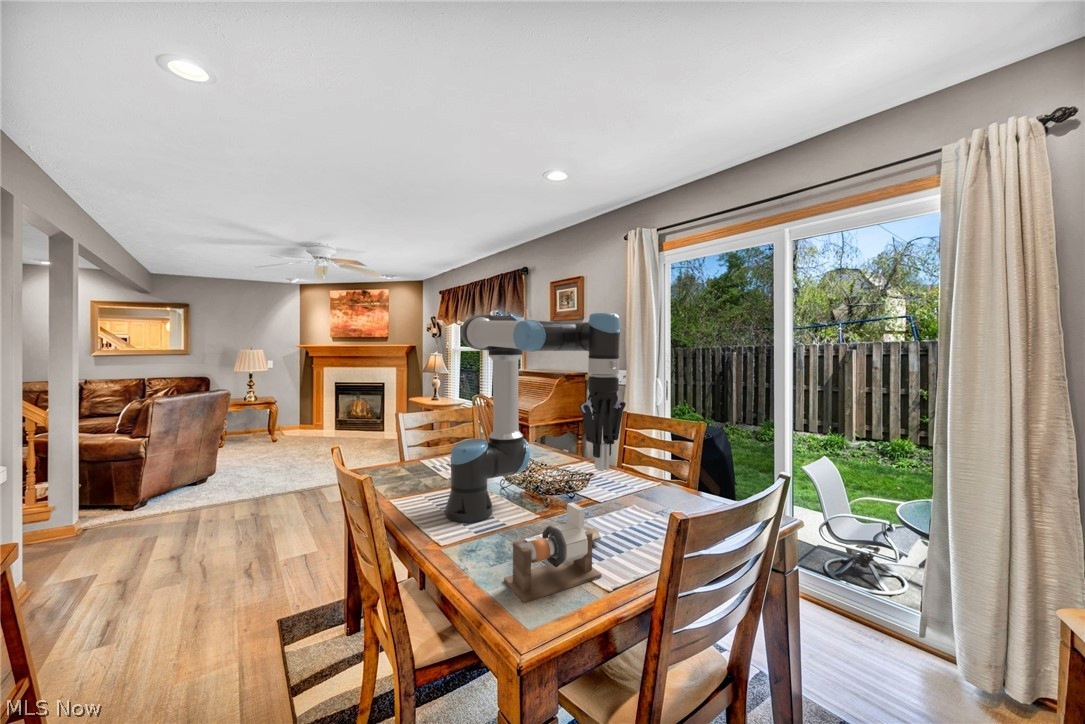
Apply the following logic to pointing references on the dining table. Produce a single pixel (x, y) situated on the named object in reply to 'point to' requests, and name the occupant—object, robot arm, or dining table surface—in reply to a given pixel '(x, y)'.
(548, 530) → the ring
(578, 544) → the sleeve
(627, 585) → the dining table surface
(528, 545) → the pipe
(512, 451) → the robot arm
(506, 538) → the dining table surface
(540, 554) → the band
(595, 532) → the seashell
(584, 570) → the stand
